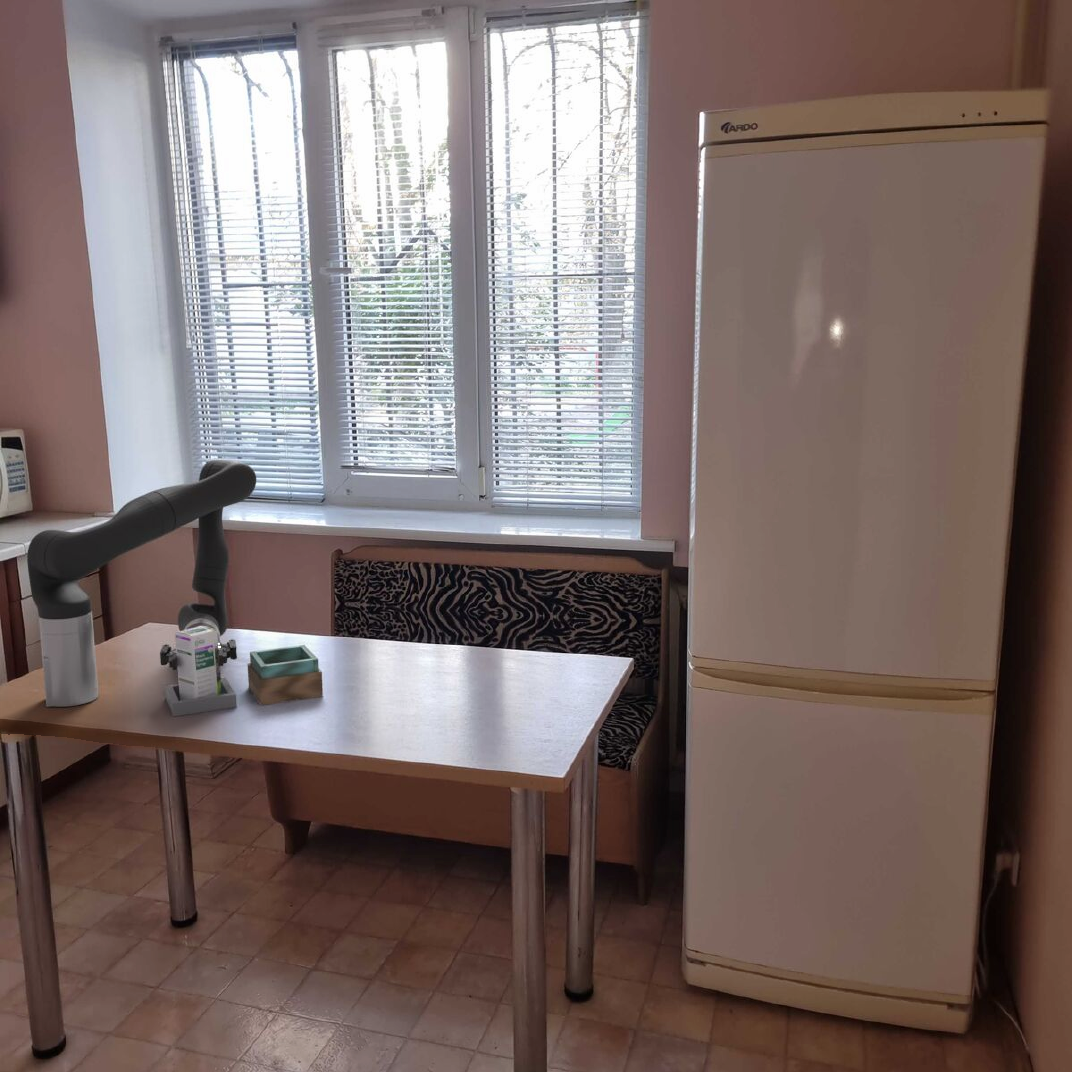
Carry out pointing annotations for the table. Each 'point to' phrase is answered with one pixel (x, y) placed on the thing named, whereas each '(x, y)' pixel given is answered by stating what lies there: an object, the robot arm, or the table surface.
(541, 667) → the table surface
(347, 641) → the table surface
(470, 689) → the table surface
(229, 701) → the low ring
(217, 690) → the syrup box
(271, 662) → the raised dock
